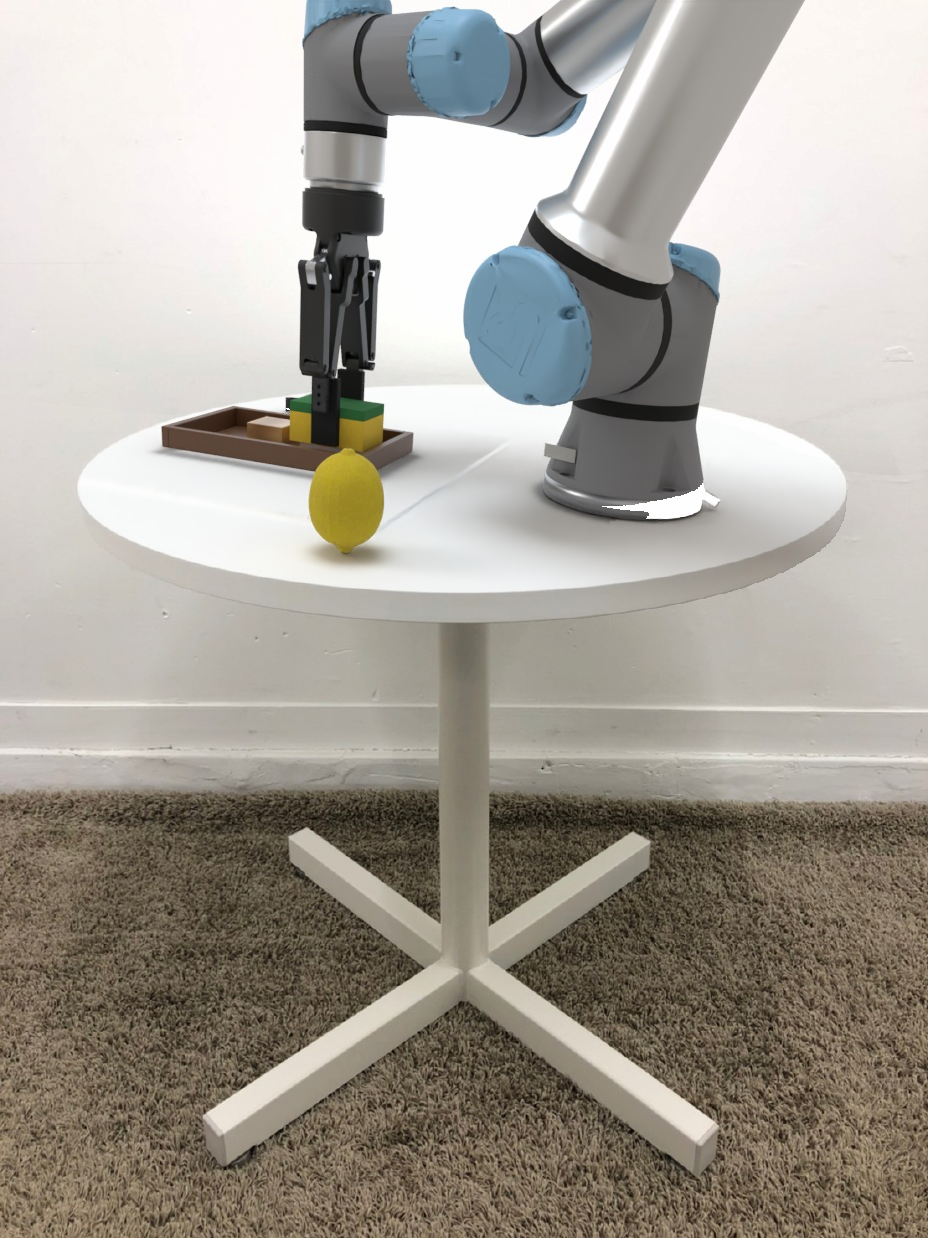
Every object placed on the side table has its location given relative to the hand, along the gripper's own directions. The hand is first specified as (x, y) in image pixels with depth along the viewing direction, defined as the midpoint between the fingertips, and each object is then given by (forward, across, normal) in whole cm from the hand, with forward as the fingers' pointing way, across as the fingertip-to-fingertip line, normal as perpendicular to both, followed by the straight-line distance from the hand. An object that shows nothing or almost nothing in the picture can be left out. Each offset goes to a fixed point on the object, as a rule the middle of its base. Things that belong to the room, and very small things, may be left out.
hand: (337, 438), depth 98 cm
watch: (+3, -18, -11) cm, 21 cm away
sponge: (0, 0, 0) cm, 0 cm away
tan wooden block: (+2, 0, -7) cm, 7 cm away
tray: (+2, 0, -5) cm, 6 cm away
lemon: (+3, +25, +13) cm, 28 cm away
